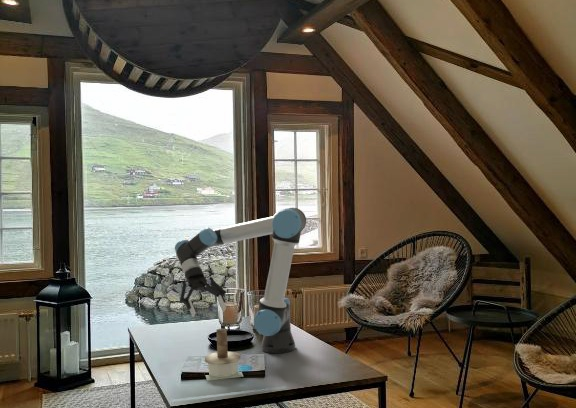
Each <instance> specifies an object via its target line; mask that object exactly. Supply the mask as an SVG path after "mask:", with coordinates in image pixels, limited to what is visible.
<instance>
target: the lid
mask: <svg viewBox="0 0 576 408" xmlns="http://www.w3.org/2000/svg"><path fill="white" fill-rule="evenodd" d="M215 331H216V352H212V353H209V354H207V355H206V356H205V357H204V362H205V363H206V364H208V363H209V364H217V365H221V364H230V363H234V362H236V361H238V362H239V361H240V360H241V359H242V358H241V357H242V355H241V354H240V353H239V352H235V351H228V333H227V332H228V329H227V328H217V329H216V330H215Z"/></svg>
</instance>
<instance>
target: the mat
mask: <svg viewBox="0 0 576 408" xmlns="http://www.w3.org/2000/svg"><path fill="white" fill-rule="evenodd" d="M241 377H242V378H244V375H243V372H242V371H241V372H237V373H236V374H235V375H233V376H229V377H221V378H219V377H212V376H210V375H205V378H206V381H217V380H225V379H226V380H227V379H233V378H234V379H235V378H241Z"/></svg>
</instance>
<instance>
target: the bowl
mask: <svg viewBox="0 0 576 408" xmlns="http://www.w3.org/2000/svg"><path fill="white" fill-rule="evenodd" d="M238 362H239V360H238V361H236V362H234V363H230V364H221V365H217V364H209V363H207V367H208V368H207V369H208V370H209V375H210V376H212V377H219V378H221V377H229V376H233V375H235V374H236V373H237V371H238V366H239V364H238Z"/></svg>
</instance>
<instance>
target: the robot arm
mask: <svg viewBox="0 0 576 408" xmlns="http://www.w3.org/2000/svg"><path fill="white" fill-rule="evenodd" d="M274 213H275V212H274ZM306 225H307V216H306V215H305V212H304V211H302V210H301V209H300V208H297V207H289V208H283V209H281V210H279V211H278V212H276V213H275V214H274V215H273V216H269V217H263V218H259V219H255V220H250V221H246V222H241V223H237V224H236V223H235V224H233V225H231V224H230V225H228V226H223V227H218V228H210V227H204V229H203V230H202V229H201V230H200V231H199V232H198V234H196V235H195V236H194V237H192V238H191V239H190V240H189V239H182V240H180V241H178V242H176V244H175V246H174V251H175V254H176V257H177V259H178V262H179V264H180V267H181V269H182V272H183V274H184V278H185V279H186V280H182V281H181V284H180V285H181V292H180V298H179V304H183V305H184V306H186V307H185V308H186V310H189V312H190V315H191V317H192V318H194V317H195V316H196V310H195V307H194V305H193V302H192V299H191V296H192V294H193V293H194V291H196V292H197V291H203V290H204V291H205V292H206V291H207V292H209V293H210V294H211V295H214V296H215V297H216V298H217V301H218V303H219V304H218V305H219V306H220V309H221V311H222V313H223V312H225V311H226V309H227V306H226V304H225V303H226V299H225V297H224V296H225V295H226V293H227V292H226V290H225V289H223V287H222V286H220V285H219V284H218V283H217V282H216V281H215V280H214V278H213V277H212V276H210V277H208V278H206V277H205V274H204V272H203V269H202V268H201V265H200V261H199V260H198V256H200V254H202V253H203V252H205V251H206V250H207V249H210V248H213V247H216V246H221V245H224V244H231V243H235V242H240V241H245V240H248V239H254V238H259V237H263V236H268V235H272V236H271V239H272V240H273V242H274V243H273V248H272V249H273V250H272V254H271V259H270V265H269V271H268V273H267V274H268V275H267V280H266V285H265V289H264V296H263V297H262V298H260V299H259V303H258V308H257V312H256V313H255V314H254V316H253V327H254V328H255V330H256V332H257V333H259V334H261V335H262V336H263V338H262V342H261V351H262V352H264V353H268V354H284V353H289V352H292V351H294V350H296V342H295V339H294V336H293V334H292V330H291V304H290V302H291V301H290V299H289V298H288V297H285V295H286V292H287V288H288V287H287V286H288V282H289V277H290V276H289V275H290V271H291V265H292V261H293V257H294V251H295V247H296V246H297V245H298V244H299V243H300V238H301V234H302V232H303V231H304V229H305V227H306ZM187 287H189V288H190V289H189V291H188V293H187V295H186V288H187ZM185 295H186V297H185Z"/></svg>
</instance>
